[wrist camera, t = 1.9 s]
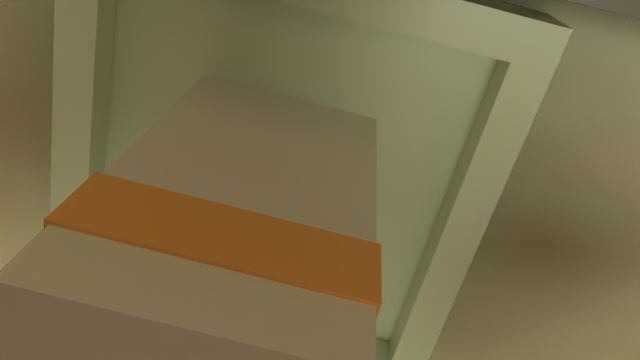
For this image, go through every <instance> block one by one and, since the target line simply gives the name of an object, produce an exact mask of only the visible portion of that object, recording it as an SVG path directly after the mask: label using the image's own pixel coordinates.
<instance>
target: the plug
mask: <svg viewBox="0 0 640 360" xmlns="http://www.w3.org/2000/svg"><path fill="white" fill-rule="evenodd" d="M376 171H377V119H374V118H371V117H367V116H363V115H359V114H355V113H351V112H347V111H344V110H340V109H336V108H332V107H328V106H324V105H320V104H316V103H313V102H309V101H305V100H301V99H297V98H293V97H289V96H286V95H282V94H278V93H274V92H270V91H266V90H262V89H259V88H255V87H251V86H247V85H243V84H239V83H235V82H231V81H228V80H224V79H220V78H216V77H212V76H208V75H203V76H202V77H201V78H200V79H199V80H198V81H197V82H196V83H195V84H194V85H193V86H192V87H191V88H190V89H189V90H188V91H187V92H186V93H185V94H184V95H183V96H182V97H181V98H180V99H179V100H177V101H176V102H175V103H174V104H173V105H172V106H171V107H170V108H169V109H168V110H167V111H166V112H165V113H164V114H163V115H162V116H161V117H160V118H159V119H158V120H157V121H156V122H155V123H154V124H153V125H152V126H150V127H149V128H148V129H147V130H146V131H145V132H144V133H143V134H142V135H141V136H140V137H139V138H138V139H137V140H136V141H135V142H134V143H133V144H132V145H131V146H130V147H129V148H128V149H127V150H126V151H124V152H123V153H122V154H121V155H120V156H119V157H118V158H117V159H116V160H115V161H114V162H113V163H112V164H111V165H110V166H109V167H108V168H107V169H106V170H105V171H104V172H103V173H99V172H94V173H93V174H92V175H91V176H90V177H89V178H88V179H87V180H86V181H85V182H84V183H82V184H81V185H80V186H79V187H78V188H77V189H76V190H75V191H74V192H73V193H72V194H71V195H70V196H69V197H67V198H66V199H65V200H64V201H63V202H62V203H61V204H60V205H59V206H58V207H57V208H56V209H55V210H54V211H52V212H51V213H50V214H49V215H48V216H47V217H46V218H45V219H44V229H43V230H42V231H41V232H40V233H39V234H38V235H37V236H36V237H35V238H34V239H33V240H32V241H31V242H30V243H29V244H28V245H27V246H26V247H25V248H24V249H23V250H22V251H20V252H19V253H18V254H17V255H16V256H15V257H14V258H13V259H12V260H11V261H10V262H9V263H8V264H7V265H6V266H5V267H4V268H3V269H2V270H1V271H0V360H376V319H377V316H378V314H379V311H380V308H381V305H382V269H381V244H379V243H376Z"/></svg>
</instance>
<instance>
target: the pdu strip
mask: <svg viewBox="0 0 640 360" xmlns="http://www.w3.org/2000/svg"><path fill="white" fill-rule="evenodd" d="M567 1H571V2H575V3H578V4H582V5H586V6H590V7H594V8H597V9H601V10H605V11H609V12H612V13H616V14H620V15H624V16H627V17H631V18H635V19H639V20H640V0H567Z"/></svg>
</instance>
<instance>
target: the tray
mask: <svg viewBox="0 0 640 360" xmlns="http://www.w3.org/2000/svg"><path fill="white" fill-rule="evenodd" d="M572 32H573V29H572V28H570V27H568V26H567V25H565V24H564V23H562V22H560V21H559V20H557V19H555V18H554V17H552V16H551V15H549V14H547V13H543V12H539V11H535V10H532V9H528V8H524V7H520V6H517V5H513V4H509V3H505V2H501V1H498V0H54V40H53V87H52V134H51V180H50V213H51V212H52V211H54V210H55V209H56V208H57V207H58V206H59V205H60V204H61V203H62V202H63V201H64V200H65V199H66V198H67V197H69V196H70V195H71V194H72V193H73V192H74V191H75V190H76V189H77V188H78V187H79V186H80V185H81V184H82V183H84V182H85V181H86V180H87V179H88V178H89V177H90V176H91V175H92V174H93V173H94V172H99V173H103V172H104V171H105V170H106V169H107V168H108V167H109V166H110V165H111V164H112V163H113V162H114V161H115V160H116V159H117V158H118V157H119V156H120V155H121V154H122V153H123V152H124V151H126V150H127V149H128V148H129V147H130V146H131V145H132V144H133V143H134V142H135V141H136V140H137V139H138V138H139V137H140V136H141V135H142V134H143V133H144V132H145V131H146V130H147V129H148V128H149V127H150V126H152V125H153V124H154V123H155V122H156V121H157V120H158V119H159V118H160V117H161V116H162V115H163V114H164V113H165V112H166V111H167V110H168V109H169V108H170V107H171V106H172V105H173V104H174V103H175V102H176V101H177V100H179V99H180V98H181V97H182V96H183V95H184V94H185V93H186V92H187V91H188V90H189V89H190V88H191V87H192V86H193V85H194V84H195V83H196V82H197V81H198V80H199V79H200V78H201V77H202V76H203V75H208V76H212V77H216V78H220V79H224V80H228V81H231V82H235V83H239V84H243V85H247V86H251V87H255V88H259V89H262V90H266V91H270V92H274V93H278V94H282V95H286V96H289V97H293V98H297V99H301V100H305V101H309V102H313V103H316V104H320V105H324V106H328V107H332V108H336V109H340V110H344V111H347V112H351V113H355V114H359V115H363V116H367V117H371V118H374V119H377V171H376V243H379V244H381V269H382V305H381V308H380V311H379V314H378V316H377V319H376V360H429V358H430V356H431V354H432V352H433V349H434V347H435V345H436V342H437V340H438V338H439V336H440V333H441V331H442V329H443V326H444V324H445V322H446V320H447V317H448V315H449V313H450V310H451V308H452V306H453V304H454V301H455V299H456V297H457V294H458V292H459V290H460V288H461V285H462V283H463V281H464V278H465V276H466V274H467V272H468V269H469V267H470V265H471V262H472V260H473V258H474V256H475V253H476V251H477V249H478V246H479V244H480V242H481V240H482V237H483V235H484V233H485V230H486V228H487V226H488V224H489V221H490V219H491V217H492V214H493V212H494V210H495V208H496V205H497V203H498V201H499V198H500V196H501V194H502V192H503V189H504V187H505V185H506V183H507V180H508V178H509V176H510V173H511V171H512V169H513V167H514V164H515V162H516V160H517V157H518V155H519V153H520V151H521V148H522V146H523V144H524V141H525V139H526V137H527V135H528V132H529V130H530V128H531V125H532V123H533V121H534V119H535V116H536V114H537V112H538V109H539V107H540V105H541V103H542V100H543V98H544V96H545V93H546V91H547V89H548V87H549V84H550V82H551V80H552V77H553V75H554V73H555V71H556V68H557V66H558V64H559V61H560V59H561V57H562V55H563V52H564V50H565V48H566V45H567V43H568V41H569V39H570V36H571V34H572Z"/></svg>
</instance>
